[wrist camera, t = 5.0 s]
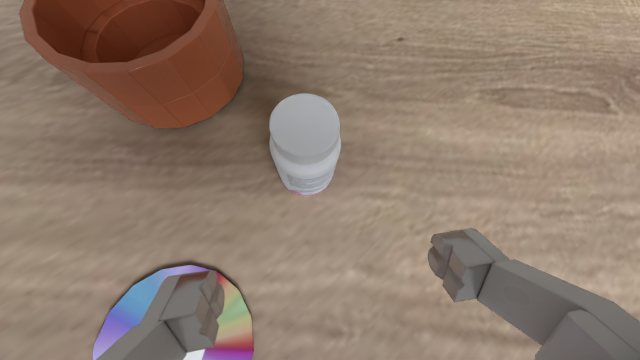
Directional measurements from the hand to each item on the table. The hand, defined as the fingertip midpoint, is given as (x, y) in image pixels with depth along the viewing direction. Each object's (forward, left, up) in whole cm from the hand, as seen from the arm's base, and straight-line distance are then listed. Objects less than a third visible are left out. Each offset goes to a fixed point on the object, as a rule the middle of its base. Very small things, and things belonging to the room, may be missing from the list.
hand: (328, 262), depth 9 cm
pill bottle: (-3, +6, -11) cm, 13 cm away
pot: (-19, +12, -11) cm, 25 cm away
